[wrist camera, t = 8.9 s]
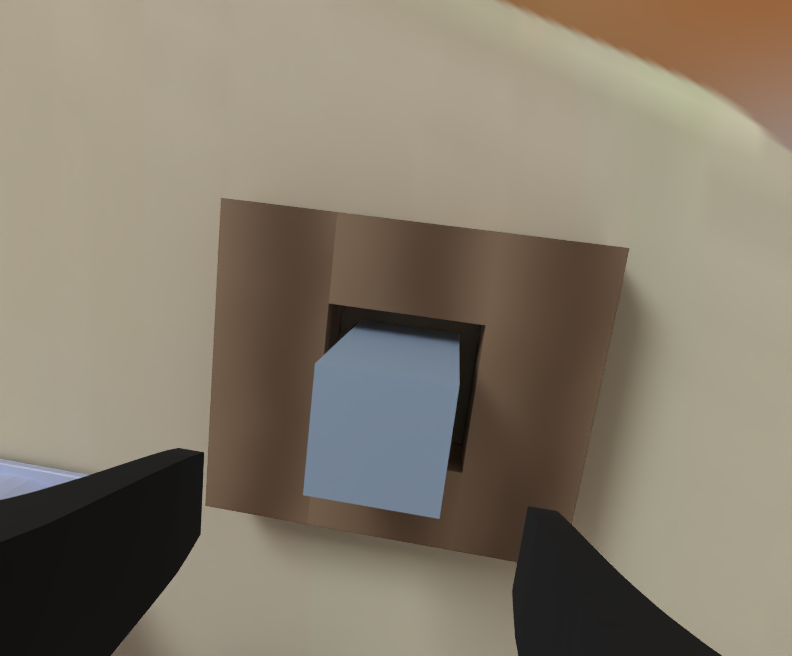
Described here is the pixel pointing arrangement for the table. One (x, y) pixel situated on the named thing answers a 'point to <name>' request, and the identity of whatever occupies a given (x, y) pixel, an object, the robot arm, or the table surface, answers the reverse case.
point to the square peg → (384, 418)
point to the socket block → (421, 296)
